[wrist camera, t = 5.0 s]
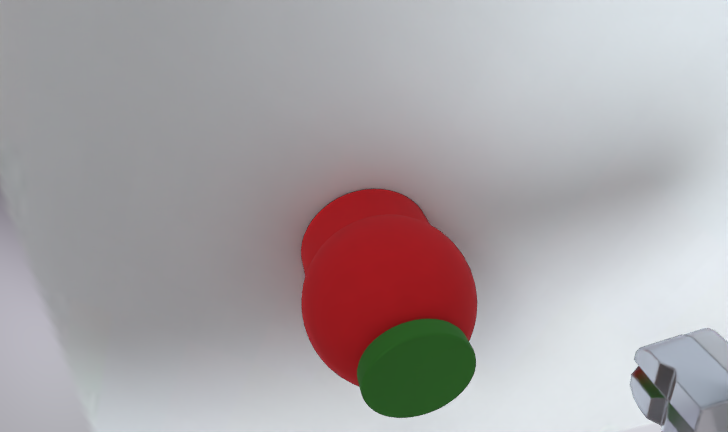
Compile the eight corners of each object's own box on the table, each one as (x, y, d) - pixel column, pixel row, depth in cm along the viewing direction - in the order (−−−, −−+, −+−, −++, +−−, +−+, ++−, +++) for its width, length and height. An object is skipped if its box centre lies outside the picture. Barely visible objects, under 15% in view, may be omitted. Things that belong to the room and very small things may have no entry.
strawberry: (307, 318, 17) (339, 465, 13) (273, 201, 14) (298, 336, 10) (442, 280, 17) (514, 411, 13) (431, 160, 15) (516, 275, 11)
